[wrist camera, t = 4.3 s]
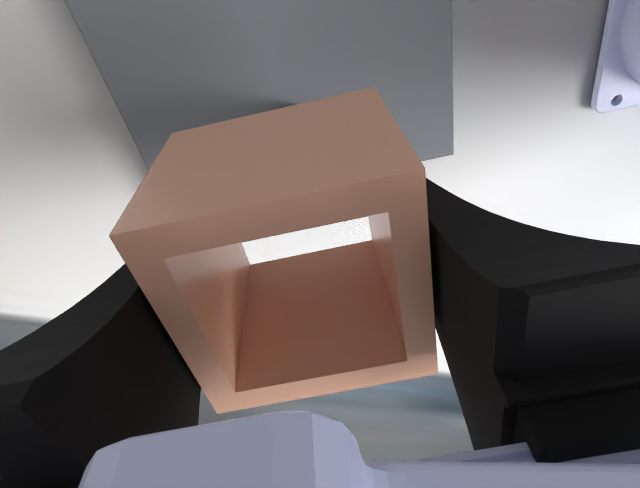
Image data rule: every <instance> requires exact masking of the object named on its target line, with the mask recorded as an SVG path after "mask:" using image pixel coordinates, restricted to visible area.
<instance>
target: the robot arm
mask: <svg viewBox="0 0 640 488" xmlns="http://www.w3.org/2000/svg"><path fill="white" fill-rule="evenodd" d="M616 95H617V98H616V100H615V101H614V102H612V103H611V101H612V99H613V98H614V97H615V96H616ZM637 105H640V0H609V5H608V11H607V16H606V22H605V27H604V33H603V38H602V44H601V50H600V55H599V61H598V66H597V72H596V77H595V83H594V88H593V94H592V99H591V107H592V109H593V110H595V111H597V112H599V113H604V112H609V111H613V110H618V109H623V108H627V107H632V106H637ZM426 192H427V208H428V224H429V240H430V255H431V271H432V287H433V303H434V319H435V328H436V331H437V333H438V336H439V339H440V342H441V345H442V348H443V351H444V354H445V357H446V360H447V364H448V367H449V370H450V373H451V376H452V379H453V382H454V385H455V389H456V392H457V395H458V398H459V401H460V405H461V408H462V411H463V414H464V418H465V421H466V424H467V428H468V431H469V434H470V438H471V441H472V444H473V448H474V451H469V452H463V453H457V454H451V455H445V456H439V457H433V458H427V459H421V460H415V461H363V459H362V457H361V454H360V450H359V447H358V443H357V440H356V438H355V437H354V436H353V435H352V433H351V432H350V431H349V430H348V429H347V428H346V427H345V425H344V424H343V423H342V422H340V421H338V420H337V419H334V418H331V417H328V416H325V415H322V414H319V413H316V412H312V411H309V410H308V411H275V412H270V413H264V414H258V415H253V416H247V417H242V418H236V419H230V420H225V421H219V422H214V423H208V424H202V425H198V419H199V403H200V392H201V386H200V385H199V383H198V381H197V380H196V378H195V376H194V375H193V373H192V371H191V370H190V368H189V367H188V365H187V363H186V362H185V360H184V358H183V357H182V355H181V353H180V352H179V350H178V349H177V347H176V345H175V344H174V342H173V340H172V339H171V337H170V335H169V334H168V332H167V330H166V329H165V327H164V326H163V324H162V322H161V321H160V319H159V317H158V316H157V314H156V312H155V311H154V309H153V307H152V306H151V304H150V303H149V301H148V299H147V298H146V296H145V294H144V293H143V291H142V289H141V288H140V286H139V285H138V283H137V281H136V280H135V278H134V276H133V275H132V273H131V271H130V270H129V268H128V266H127V265H126V263H125V264H124V265H123V266H122V267H121V268H120V269H118V270H117V271H116V272H115V273H114V274H113V275H112V276H111V277H109V278H108V279H107V280H106V281H105V282H104V283H102V284H101V285H100V286H99V287H98V288H96V289H95V290H94V291H92V292H91V293H90V294H89V295H87V296H86V297H85V298H83V299H82V300H81V301H79V302H78V303H76V304H75V305H74V306H72V307H71V308H69V309H68V310H67V311H65V312H64V313H62V314H60V315H59V316H57V317H56V318H54V319H53V320H51V321H50V322H48V323H46V324H45V325H43V326H42V327H40V328H39V329H37V330H36V331H34V332H32V333H31V334H29V335H27V336H26V337H24V338H22V339H20V340H19V341H17V342H15V343H13V344H12V345H10V346H8V347H6V348H4V349H2V350H0V488H640V245H635V244H626V243H617V242H608V241H600V240H594V239H588V238H582V237H577V236H571V235H566V234H562V233H557V232H553V231H548V230H544V229H541V228H537V227H533V226H530V225H526V224H523V223H519V222H516V221H513V220H510V219H508V218H505V217H502V216H499V215H497V214H494V213H491V212H489V211H487V210H484V209H482V208H480V207H478V206H475V205H473V204H471V203H469V202H467V201H465V200H463V199H461V198H459V197H457V196H456V195H454V194H452V193H450V192H448V191H447V190H445V189H443V188H441V187H440V186H438V185H437V184H435V183H433V182H432V181H430V180H429V179H427V178H426Z"/></svg>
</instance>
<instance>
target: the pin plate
mask: <svg viewBox="0 0 640 488" xmlns="http://www.w3.org/2000/svg"><path fill="white" fill-rule="evenodd" d="M65 1H66V3H67V5H68V7H69V9H70V11H71V14H72V16H73V18H74V20H75V22H76V24H77V26H78V28H79V30H80V32H81V34H82V36H83V38H84V40H85V42H86V44H87V46H88V48H89V50H90V52H91V54H92V56H93V58H94V60H95V62H96V64H97V66H98V68H99V70H100V72H101V74H102V76H103V78H104V80H105V83H106V85H107V87H108V89H109V91H110V93H111V95H112V97H113V99H114V101H115V103H116V105H117V107H118V109H119V111H120V113H121V115H122V117H123V119H124V121H125V123H126V125H127V127H128V129H129V131H130V133H131V135H132V137H133V139H134V141H135V143H136V145H137V147H138V150H139V152H140V154H141V156H142V158H143V160H144V162H145V164H146V166H147V168H148V170H150V168H151V166H152V165H153V163H154V161H155V160H156V158H157V157H158V155H159V153H160V152H161V150H162V148H163V147H164V145H165V144H166V142H167V140H168V139H169V137H170V135H171V134H172V133H174V132H178V131H183V130H187V129H192V128H196V127H200V126H205V125H209V124H214V123H218V122H222V121H227V120H231V119H236V118H240V117H244V116H249V115H253V114H258V113H262V112H266V111H271V110H275V109H280V108H284V107H288V106H293V105H297V104H302V103H306V102H310V101H315V100H319V99H324V98H328V97H332V96H337V95H341V94H346V93H350V92H354V91H359V90H363V89H368V88H372V87H375V89H376V90H377V92H378V93H379V95H380V97H381V98H382V100H383V101H384V103H385V105H386V106H387V108H388V110H389V111H390V113H391V114H392V116H393V118H394V119H395V121H396V122H397V124H398V126H399V127H400V129H401V131H402V132H403V134H404V135H405V137H406V139H407V140H408V142H409V143H410V145H411V147H412V148H413V150H414V152H415V153H416V155H417V156H418V158H419V160H420V161H424V160H429V159H434V158H438V157H443V156H448V155H453V90H452V25H451V0H65Z"/></svg>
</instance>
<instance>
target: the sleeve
mask: <svg viewBox="0 0 640 488" xmlns="http://www.w3.org/2000/svg"><path fill="white" fill-rule="evenodd" d="M367 216H368V217H369V223H370V229H371V235H372V240H371V241H366V242H361V243H356V244H351V245H346V246H341V247H336V248H331V249H326V250H322V251H317V252H312V253H307V254H302V255H297V256H292V257H287V258H282V259H277V260H272V261H267V262H262V263H258V264H253V265H250V264H249V261H248V258H247V256H246V253H245V251H244V248H243V246H242V243H241V242H246V241H251V240H256V239H260V238H265V237H270V236H275V235H280V234H285V233H289V232H294V231H299V230H304V229H309V228H313V227H318V226H323V225H328V224H333V223H338V222H342V221H347V220H352V219H357V218H362V217H367ZM109 237H110V239H111V240H112V242H113V244H114V245H115V247H116V248H117V250H118V252H119V253H120V255H121V257H122V258H123V260H124V262H125V263H126V265H127V266H128V268H129V270H130V271H131V273H132V275H133V276H134V278H135V280H136V281H137V283H138V285H139V286H140V288H141V289H142V291H143V293H144V294H145V296H146V298H147V299H148V301H149V303H150V304H151V306H152V307H153V309H154V311H155V312H156V314H157V316H158V317H159V319H160V321H161V322H162V324H163V326H164V327H165V329H166V330H167V332H168V334H169V335H170V337H171V339H172V340H173V342H174V344H175V345H176V347H177V349H178V350H179V352H180V353H181V355H182V357H183V358H184V360H185V362H186V363H187V365H188V367H189V368H190V370H191V371H192V373H193V375H194V376H195V378H196V380H197V381H198V383H199V385H200V386H201V388H202V390H203V391H204V393H205V394H206V396H207V398H208V399H209V401H210V403H211V404H212V406H213V408H214V409H215V411H216V413H217V414H219V413H224V412H230V411H236V410H241V409H247V408H252V407H258V406H263V405H269V404H274V403H280V402H285V401H291V400H296V399H302V398H308V397H313V396H319V395H324V394H330V393H335V392H341V391H346V390H352V389H357V388H363V387H369V386H374V385H380V384H385V383H391V382H396V381H402V380H407V379H413V378H418V377H424V376H429V375H435V374H438V366H437V351H436V335H435V319H434V303H433V287H432V271H431V255H430V240H429V224H428V208H427V192H426V176H425V168H424V166H423V164H422V163H421V161H420V160H419V158H418V156H417V155H416V153H415V152H414V150H413V148H412V147H411V145H410V143H409V142H408V140H407V139H406V137H405V135H404V134H403V132H402V131H401V129H400V127H399V126H398V124H397V122H396V121H395V119H394V118H393V116H392V114H391V113H390V111H389V110H388V108H387V106H386V105H385V103H384V101H383V100H382V98H381V97H380V95H379V93H378V92H377V90H376V89H375V87H372V88H368V89H363V90H359V91H354V92H350V93H346V94H341V95H337V96H332V97H328V98H324V99H319V100H315V101H310V102H306V103H302V104H297V105H293V106H288V107H284V108H280V109H275V110H271V111H266V112H262V113H258V114H253V115H249V116H244V117H240V118H236V119H231V120H227V121H222V122H218V123H214V124H209V125H205V126H200V127H196V128H192V129H187V130H183V131H178V132H174V133H172V134H171V135H170V137H169V139H168V140H167V142H166V144H165V145H164V147H163V148H162V150H161V152H160V153H159V155H158V157H157V158H156V160H155V161H154V163H153V165H152V166H151V168H150V170H149V171H148V173H147V174H146V176H145V178H144V179H143V181H142V183H141V184H140V186H139V187H138V189H137V191H136V192H135V194H134V196H133V197H132V199H131V200H130V202H129V204H128V205H127V207H126V209H125V210H124V212H123V213H122V215H121V217H120V218H119V220H118V222H117V223H116V225H115V227H114V228H113V230H112V231H111V233H110V235H109Z"/></svg>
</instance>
